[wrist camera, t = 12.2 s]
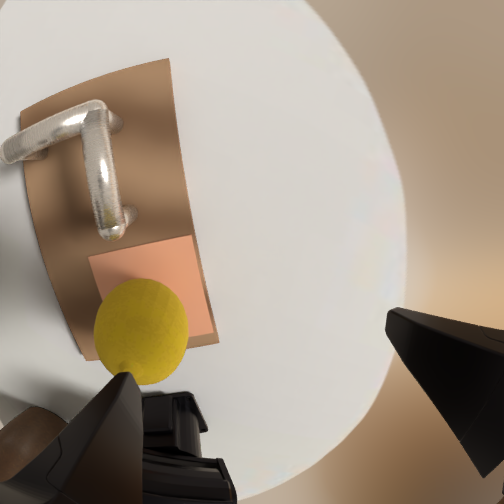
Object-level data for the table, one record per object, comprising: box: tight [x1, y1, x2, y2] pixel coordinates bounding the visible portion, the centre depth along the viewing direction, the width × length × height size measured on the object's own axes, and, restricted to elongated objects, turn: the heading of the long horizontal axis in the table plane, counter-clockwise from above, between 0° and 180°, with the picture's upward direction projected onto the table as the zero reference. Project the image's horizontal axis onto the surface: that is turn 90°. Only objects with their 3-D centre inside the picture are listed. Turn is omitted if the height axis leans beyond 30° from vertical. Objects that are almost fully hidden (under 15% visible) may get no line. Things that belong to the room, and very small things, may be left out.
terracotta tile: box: [88, 234, 214, 337], centre depth 18 cm, size 8×8×1 cm
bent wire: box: [0, 99, 138, 241], centre depth 13 cm, size 8×8×5 cm
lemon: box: [94, 278, 189, 385], centre depth 14 cm, size 6×6×8 cm
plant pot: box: [0, 407, 68, 482], centre depth 14 cm, size 15×15×16 cm
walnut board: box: [20, 58, 219, 361], centre depth 17 cm, size 21×12×1 cm, turn 8°
